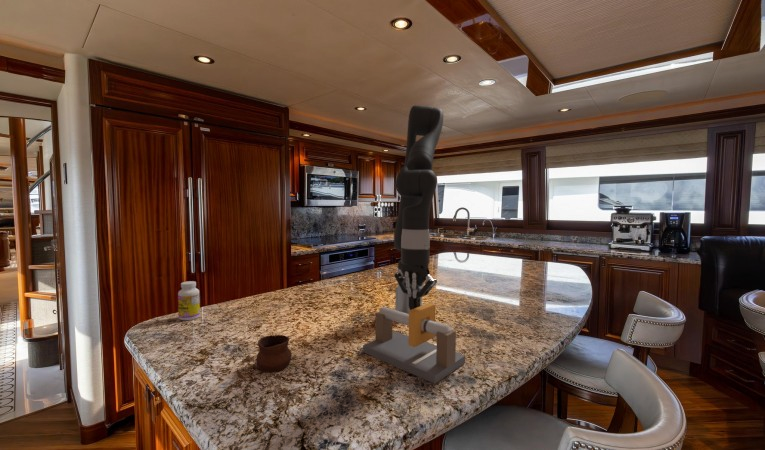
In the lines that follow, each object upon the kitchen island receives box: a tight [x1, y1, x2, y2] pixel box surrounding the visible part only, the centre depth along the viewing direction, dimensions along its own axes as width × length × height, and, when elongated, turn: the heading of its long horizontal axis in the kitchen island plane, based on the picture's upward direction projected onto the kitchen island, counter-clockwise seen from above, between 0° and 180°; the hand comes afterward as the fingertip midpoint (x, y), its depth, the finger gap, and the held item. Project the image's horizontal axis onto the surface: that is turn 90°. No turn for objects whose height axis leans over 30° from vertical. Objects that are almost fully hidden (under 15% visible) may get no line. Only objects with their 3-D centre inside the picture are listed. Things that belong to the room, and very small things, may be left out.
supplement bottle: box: [177, 280, 201, 321], centre depth 119 cm, size 7×7×13 cm
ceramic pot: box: [236, 334, 293, 382], centre depth 85 cm, size 18×18×7 cm
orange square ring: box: [408, 302, 436, 347], centre depth 87 cm, size 2×9×9 cm, turn 137°
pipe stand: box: [362, 306, 466, 385], centre depth 90 cm, size 24×14×12 cm, turn 47°
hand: (414, 310), depth 89 cm, fingers closed
